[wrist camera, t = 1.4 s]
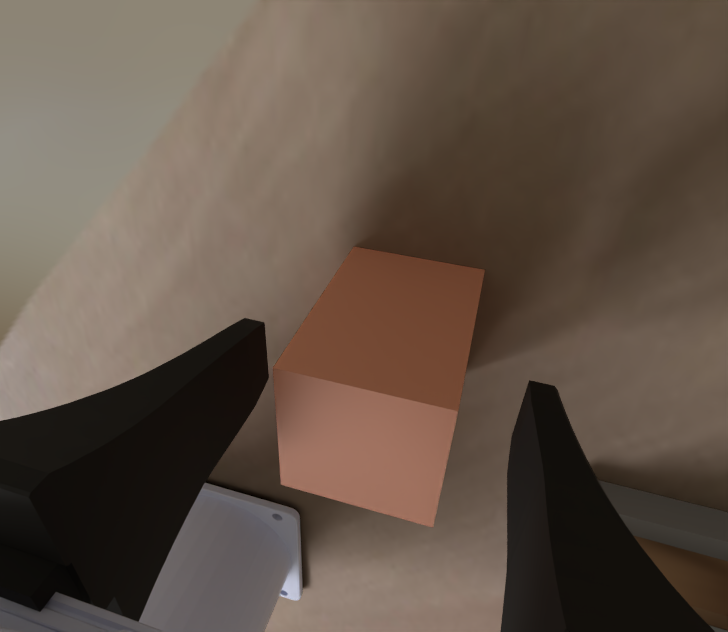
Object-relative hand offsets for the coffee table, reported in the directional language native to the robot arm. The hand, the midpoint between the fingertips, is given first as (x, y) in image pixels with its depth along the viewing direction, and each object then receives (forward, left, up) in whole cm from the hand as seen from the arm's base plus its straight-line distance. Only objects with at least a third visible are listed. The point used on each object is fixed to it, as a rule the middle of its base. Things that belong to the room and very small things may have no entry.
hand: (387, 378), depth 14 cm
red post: (0, 0, -3) cm, 3 cm away
